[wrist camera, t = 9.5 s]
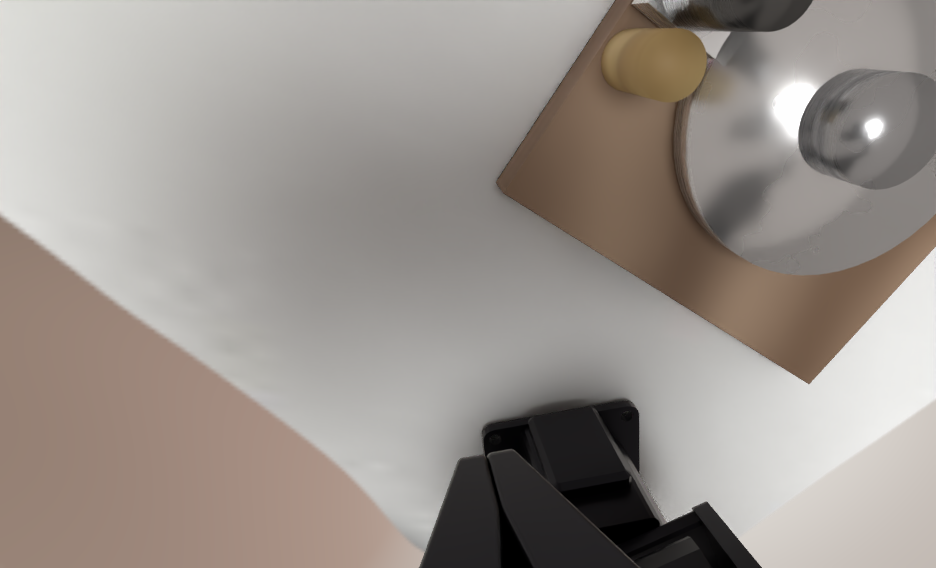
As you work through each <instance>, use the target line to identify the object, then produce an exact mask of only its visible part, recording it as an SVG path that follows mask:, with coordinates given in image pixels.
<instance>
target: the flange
mask: <svg viewBox="0 0 936 568" xmlns="http://www.w3.org/2000/svg"><path fill="white" fill-rule="evenodd" d="M632 5H633V6H634V7H635V8H637V9H638V10H639V11H640V12H641V13H643V14H644V15H645V16H646V17H647V18H649V19H650V20H651V21H652V22H653V23H655V24H656V25H657V26H658V27H659V28H682V29H686V30H689V31H691V32H693V33H694V34H696V35H697V36H698V37H699V38H700V40H701V41H702V43H703V45H704V47H705V50H706V56H707V64H706V70H705V74H704V76H703V79H702V80H701V82H700V84H699V85H698V87H697V88H696V89H695V90H694V91H693V92H692V93H691V94H690V95H689V96H687V97H686V98H684V99H682V100H679V103H678V107H677V111H676V119H675V126H674V160H675V168H676V174H677V178H678V182H679V185H680V189H681V192H682V194H683V197H684V199H685V201H686V204H687V206H688V208H689V209H690V211H691V212H692V214H693V216H694V217H695V219H696V221H697V222H698V223H699V224H700V225H701V226H702V227H703V229H704V230H705V231H706V232H707V233H708V234H709V235H710V236H711V237H713V238H714V239H715V240H716V241H717V242H719V243H720V244H721V245H723V246H724V247H726V248H728V249H729V250H731V251H732V252H734V253H735V254H737V255H738V256H740V257H742V258H743V259H745V260H747V261H749V262H750V263H752V264H754V265H756V266H759V267H762V268H764V269H767V270H770V271H774V272H778V273H783V274H791V275H820V274H826V273H832V272H837V271H841V270H844V269H848V268H851V267H854V266H857V265H860V264H862V263H865V262H867V261H869V260H872V259H874V258H876V257H878V256H880V255H882V254H883V253H885V252H887V251H889V250H891V249H892V248H894V247H895V246H897V245H898V244H900V243H901V242H903V241H904V240H906V239H907V238H909V237H910V236H911V235H913V234H914V233H915V232H916V231H917V230H919V229H920V228H921V227H922V226H923V225H925V224H926V223H927V222H928V221H929V220H930V219H931V218H932V217H933V216H934V215H935V214H936V0H634V1H633V2H632Z"/></svg>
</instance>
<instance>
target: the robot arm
mask: <svg viewBox="0 0 936 568" xmlns="http://www.w3.org/2000/svg"><path fill="white" fill-rule="evenodd" d="M626 411H629V413H628V414H627V415H624V416H622V414H623V413H624V412H626ZM493 435H499V437H498V438H496V439H490V437H491V436H493ZM482 443H483V450H484V455H475V456H470V457H464V458H461V459H460V460H459V461H458V463H457V465H456V468H455V471H454V473H453V476H452V479H451V482H450V484H449V487H448V490H447V493H446V495H445V498H444V501H443V504H442V506H441V509H440V512H439V515H438V517H437V520H436V523H435V526H434V528H433V531H432V534H431V537H430V540H429V542H428V545H427V548H426V551H425V553H424V556H423V559H422V562H421V564H420V567H419V568H762V567H761V566H760V565H759V564H758V563H757V561H756V560H755V559H754V558H753V557H752V555H751V554H750V553H749V552H748V551H747V549H746V548H745V547H744V546H743V545H742V543H741V542H740V541H739V540H738V538H737V537H736V536H735V535H734V534H733V532H732V531H731V530H730V529H729V528H728V526H727V525H726V524H725V523H724V522H723V520H722V519H721V518H720V517H719V515H718V514H717V513H716V512H715V511H714V509H713V508H712V507H711V506H710V505H709V503H708V502H707V501H706V502H704V503H702V504H700V505H698V506H695V507H693V508H692V510H693V511H692V512H690V513H688V514H685V515H683V516H681V517H679V518H676V519H674V520H672V521H670V522H668V523H667V522H666V520H665V519H664V517H663V515H662V513H661V512H660V510H659V508H658V506H657V505H656V503H655V501H654V499H653V498H652V496H651V494H650V492H649V491H648V489H647V487H646V485H645V484H644V482H643V480H642V478H641V477H640V475H639V413H638V410H637V408H636V407H635V405H634V404H633V403H632V402H630V401H619V402H613V403H608V404H602V405H596V406H591V407H583V408H578V409H572V410H566V411H561V412H555V413H550V414H544V415H538V416H534V417H529V418H524V419H518V420H512V421H507V422H501V423H496V424H491V425H488V426H487V427H485V428H484V430H483V431H482Z"/></svg>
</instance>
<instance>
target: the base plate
mask: <svg viewBox="0 0 936 568" xmlns="http://www.w3.org/2000/svg"><path fill="white" fill-rule="evenodd" d="M633 1H634V0H615V2H614V3H613V5H612V6H611V8H610V9H609V11H608V12H607V14H606V15H605V17H604V18H603V20H602V22H601V23H600V25H599V26H598V28H597V29H596V31H595V32H594V34H593V35H592V37H591V38H590V40H589V41H588V43H587V44H586V46H585V47H584V49H583V50H582V52H581V53H580V55H579V57H578V58H577V60H576V61H575V63H574V64H573V66H572V67H571V69H570V70H569V72H568V73H567V75H566V76H565V78H564V79H563V81H562V82H561V84H560V85H559V87H558V88H557V90H556V92H555V93H554V95H553V96H552V98H551V99H550V101H549V102H548V104H547V105H546V107H545V108H544V110H543V111H542V113H541V114H540V116H539V117H538V119H537V120H536V122H535V123H534V125H533V127H532V128H531V130H530V131H529V133H528V134H527V136H526V137H525V139H524V140H523V142H522V143H521V145H520V146H519V148H518V149H517V151H516V152H515V154H514V155H513V157H512V158H511V160H510V162H509V163H508V165H507V166H506V168H505V169H504V171H503V172H502V174H501V175H500V177H499V178H498V180H497V181H496V183H497V185H498V186H499V188H500V189H501V190H502V192H503V193H504V194H505V195H507V196H509V197H510V198H512V199H513V200H515V201H517V202H518V203H520V204H521V205H523V206H525V207H526V208H528V209H529V210H531V211H533V212H534V213H536V214H537V215H539V216H541V217H542V218H544V219H545V220H547V221H549V222H550V223H552V224H553V225H555V226H557V227H558V228H560V229H561V230H563V231H565V232H566V233H568V234H569V235H571V236H573V237H574V238H576V239H577V240H579V241H581V242H582V243H584V244H585V245H587V246H589V247H590V248H592V249H593V250H595V251H597V252H598V253H600V254H601V255H603V256H605V257H606V258H608V259H609V260H611V261H613V262H614V263H616V264H617V265H619V266H621V267H622V268H624V269H625V270H627V271H629V272H630V273H632V274H633V275H635V276H637V277H638V278H640V279H641V280H643V281H645V282H646V283H648V284H649V285H651V286H653V287H654V288H656V289H657V290H659V291H661V292H662V293H664V294H665V295H667V296H669V297H670V298H672V299H673V300H675V301H677V302H678V303H680V304H681V305H683V306H685V307H686V308H688V309H689V310H691V311H693V312H694V313H696V314H697V315H699V316H701V317H702V318H704V319H705V320H707V321H709V322H710V323H712V324H713V325H715V326H717V327H718V328H720V329H721V330H723V331H725V332H726V333H728V334H729V335H731V336H733V337H734V338H736V339H737V340H739V341H741V342H742V343H744V344H745V345H747V346H749V347H750V348H752V349H753V350H755V351H757V352H758V353H760V354H761V355H763V356H765V357H766V358H768V359H769V360H771V361H773V362H774V363H776V364H777V365H779V366H781V367H782V368H784V369H785V370H787V371H789V372H790V373H792V374H793V375H795V376H797V377H798V378H800V379H801V380H803V381H805V382H806V383H808V384H810V383H811V382H812V380H813V379H814V378H815V377H816V376H817V375H818V374H819V373H820V372H821V371H822V370H823V369H824V367H825V366H826V365H827V364H828V363H829V362H830V361H831V360H832V359H833V358H834V357H835V355H836V354H837V353H838V352H839V351H840V350H841V349H842V348H843V347H844V346H845V345H846V343H847V342H848V341H849V340H850V339H851V338H852V337H853V336H854V335H855V334H856V333H857V332H858V330H859V329H860V328H861V327H862V326H863V325H864V324H865V323H866V322H867V321H868V320H869V318H870V317H871V316H872V315H873V314H874V313H875V312H876V311H877V310H878V309H879V308H880V306H881V305H882V304H883V303H884V302H885V301H886V300H887V299H888V298H889V297H890V296H891V295H892V293H893V292H894V291H895V290H896V289H897V288H898V287H899V286H900V285H901V284H902V283H903V281H904V280H905V279H906V278H907V277H908V276H909V275H910V274H911V273H912V272H913V271H914V269H915V268H916V267H917V266H918V265H919V264H920V263H921V262H922V261H923V260H924V259H925V258H926V256H927V255H928V254H929V253H930V252H931V251H932V250H933V249H934V248H935V247H936V214H935V215H934V216H933V217H932V218H931V219H930V220H929V221H928V222H927V223H926V224H925V225H923V226H922V227H921V228H920V229H919V230H917V231H916V232H915V233H914V234H913V235H911V236H910V237H909V238H907V239H906V240H904V241H903V242H901V243H900V244H898V245H897V246H895V247H894V248H892V249H891V250H889V251H887V252H885V253H883V254H882V255H880V256H878V257H876V258H874V259H872V260H869V261H867V262H865V263H862V264H860V265H857V266H854V267H851V268H848V269H844V270H841V271H837V272H832V273H826V274H820V275H791V274H783V273H778V272H774V271H770V270H767V269H764V268H762V267H759V266H756V265H754V264H752V263H750V262H749V261H747V260H745V259H743V258H742V257H740V256H738V255H737V254H735V253H734V252H732V251H731V250H729V249H728V248H726V247H724V246H723V245H721V244H720V243H719V242H717V241H716V240H715V239H714V238H713V237H711V236H710V235H709V234H708V233H707V232H706V231H705V230H704V229H703V227H702V226H701V225H700V224H699V223H698V222H697V221H696V219H695V217H694V216H693V214H692V212H691V211H690V209H689V208H688V206H687V204H686V201H685V199H684V197H683V194H682V192H681V189H680V185H679V182H678V178H677V174H676V168H675V160H674V126H675V119H676V111H677V107H678V103H679V100H682V99H684V98H686V97H687V96H689V95H690V94H691V93H692V92H693V91H694V90H695V89H696V88H697V87H698V85H699V84H700V82H701V80H702V79H703V76H704V74H705V70H706V64H707V56H706V50H705V47H704V45H703V43H702V41H701V40H700V38H699V37H698V36H697V35H696V34H694V33H693V32H691V31H689V30H686V29H682V28H659V27H658V26H657V25H656V24H655V23H653V22H652V21H651V20H650V19H649V18H647V17H646V16H645V15H644V14H643V13H641V12H640V11H639V10H638V9H637V8H635V7H634V6H633V5H632V2H633Z"/></svg>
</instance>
